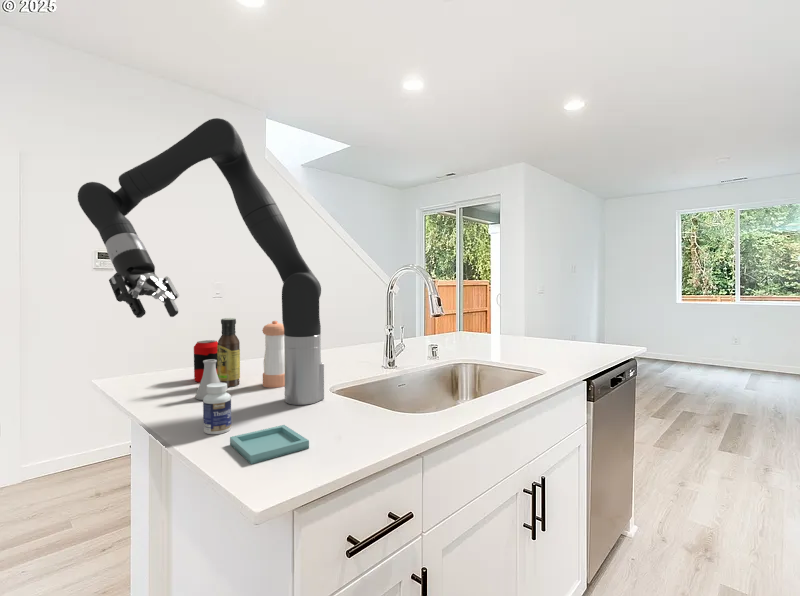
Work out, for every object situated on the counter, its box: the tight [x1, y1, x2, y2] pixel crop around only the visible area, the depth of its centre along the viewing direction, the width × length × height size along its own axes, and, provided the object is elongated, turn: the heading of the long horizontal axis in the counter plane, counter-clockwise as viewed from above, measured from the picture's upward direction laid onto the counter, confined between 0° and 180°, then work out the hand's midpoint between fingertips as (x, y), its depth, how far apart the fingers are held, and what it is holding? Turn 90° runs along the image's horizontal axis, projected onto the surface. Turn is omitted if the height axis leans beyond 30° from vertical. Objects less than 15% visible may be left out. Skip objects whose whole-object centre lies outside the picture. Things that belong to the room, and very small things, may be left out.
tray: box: [229, 424, 310, 465], centre depth 82 cm, size 11×11×2 cm
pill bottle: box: [202, 382, 232, 435], centre depth 90 cm, size 5×5×10 cm
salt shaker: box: [261, 320, 285, 389], centre depth 128 cm, size 7×7×19 cm
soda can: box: [193, 339, 218, 383], centre depth 134 cm, size 8×8×12 cm
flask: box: [194, 359, 220, 401], centre depth 115 cm, size 7×7×10 cm
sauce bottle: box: [217, 317, 241, 388], centre depth 127 cm, size 6×6×20 cm
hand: (159, 315), depth 97 cm, fingers open, 8 cm apart
